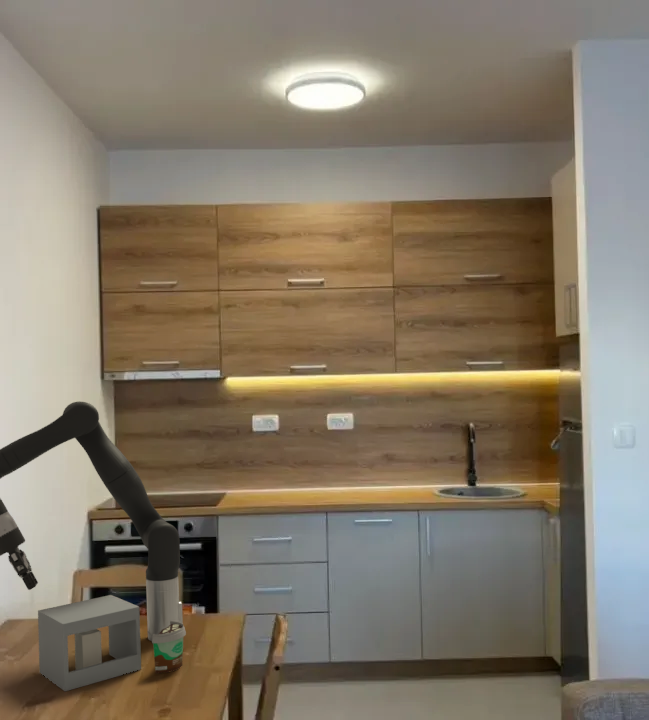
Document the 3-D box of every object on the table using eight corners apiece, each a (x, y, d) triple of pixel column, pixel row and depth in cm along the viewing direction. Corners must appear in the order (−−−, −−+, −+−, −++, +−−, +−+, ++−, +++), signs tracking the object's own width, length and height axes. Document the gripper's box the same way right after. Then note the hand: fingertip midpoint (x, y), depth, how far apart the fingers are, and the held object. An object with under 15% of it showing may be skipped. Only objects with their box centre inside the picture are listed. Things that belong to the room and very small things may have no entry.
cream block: (94, 665, 204) (93, 627, 204) (102, 670, 200) (100, 631, 201) (75, 670, 201) (74, 631, 201) (83, 675, 197) (82, 635, 197)
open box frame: (112, 653, 213) (110, 594, 213) (141, 669, 200) (139, 606, 200) (39, 673, 200) (37, 610, 200) (64, 691, 187) (63, 624, 187)
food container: (176, 676, 194) (174, 635, 194) (153, 675, 195) (151, 635, 196) (194, 658, 206) (192, 620, 207) (172, 658, 207) (171, 620, 208)
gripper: (15, 526, 200) (46, 581, 200) (19, 525, 214) (48, 577, 213) (-13, 541, 198) (18, 597, 197) (-8, 540, 211) (22, 592, 211)
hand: (33, 586), depth 205 cm, fingers open, 8 cm apart
